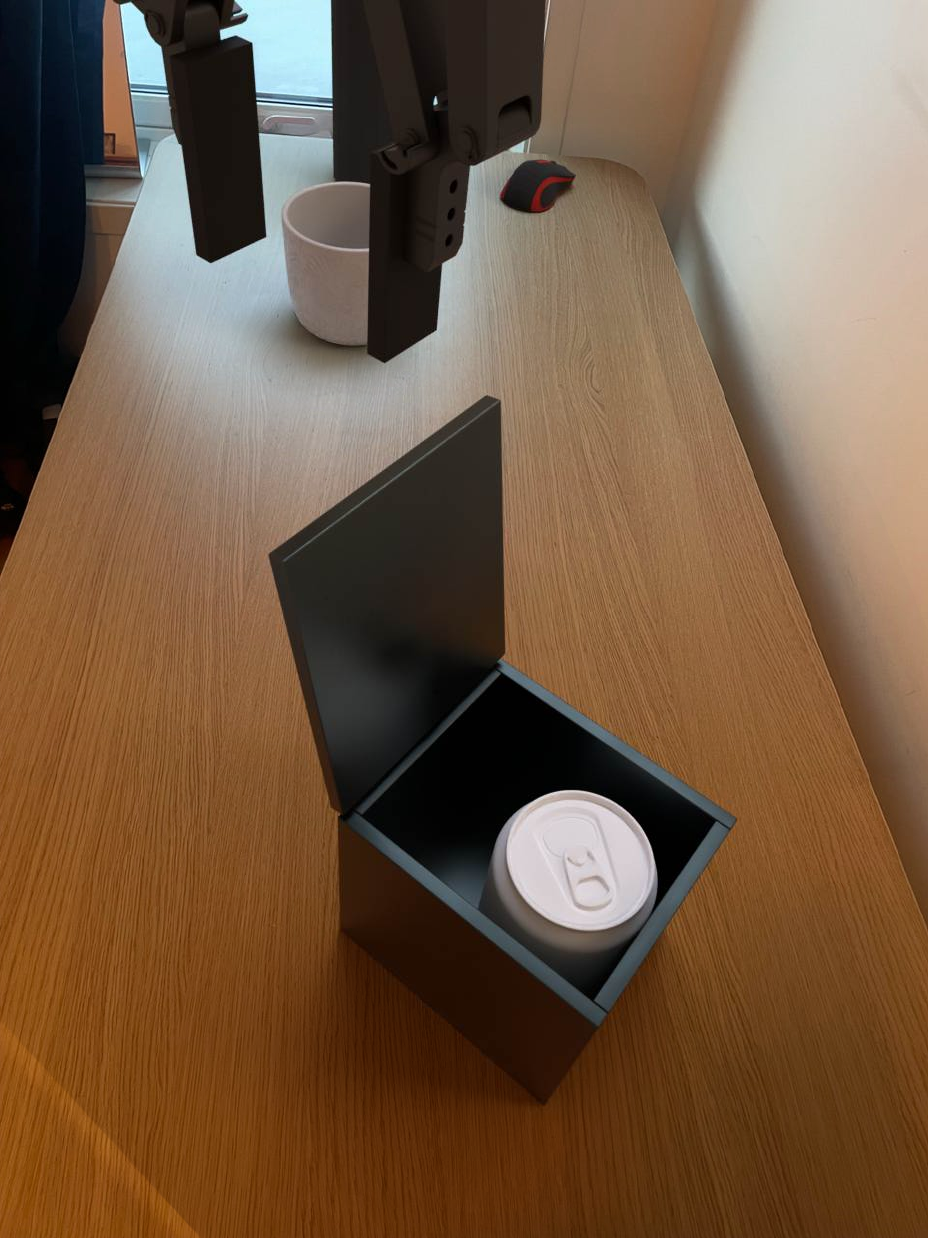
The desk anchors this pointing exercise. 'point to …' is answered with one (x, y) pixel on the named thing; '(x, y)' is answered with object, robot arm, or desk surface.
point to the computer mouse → (536, 185)
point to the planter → (329, 259)
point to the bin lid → (398, 600)
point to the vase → (355, 94)
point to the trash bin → (461, 854)
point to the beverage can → (572, 884)
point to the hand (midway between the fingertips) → (313, 290)
